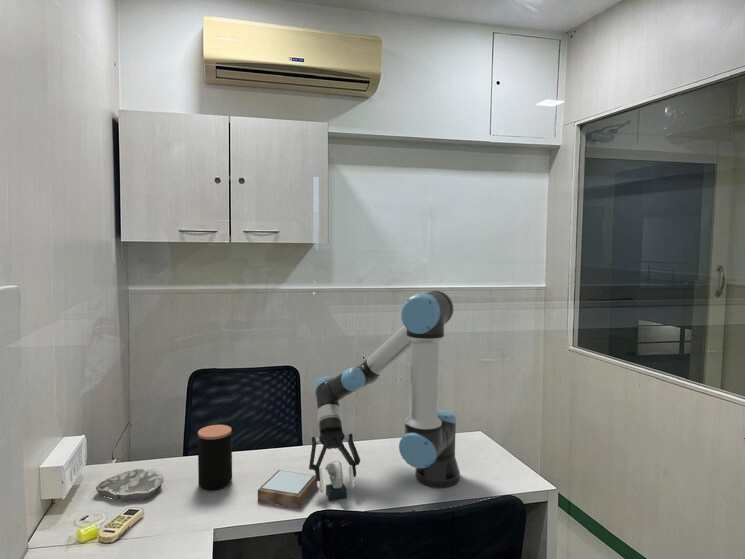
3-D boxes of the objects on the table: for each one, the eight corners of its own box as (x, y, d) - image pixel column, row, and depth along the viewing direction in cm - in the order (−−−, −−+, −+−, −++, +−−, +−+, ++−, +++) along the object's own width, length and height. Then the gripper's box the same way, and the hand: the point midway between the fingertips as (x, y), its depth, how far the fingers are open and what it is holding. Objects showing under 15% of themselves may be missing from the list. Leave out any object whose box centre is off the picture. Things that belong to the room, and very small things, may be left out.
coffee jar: (238, 483, 159) (238, 430, 158) (208, 495, 152) (207, 439, 150) (221, 472, 167) (221, 422, 165) (192, 483, 159) (191, 430, 158)
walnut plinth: (317, 486, 158) (317, 474, 157) (299, 508, 144) (299, 495, 144) (278, 480, 162) (278, 468, 161) (257, 501, 148) (257, 488, 148)
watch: (340, 488, 156) (340, 455, 156) (348, 500, 149) (348, 466, 148) (324, 491, 155) (324, 458, 154) (330, 504, 147) (330, 469, 146)
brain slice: (175, 478, 163) (175, 470, 162) (148, 505, 146) (148, 496, 146) (119, 476, 164) (119, 467, 164) (86, 502, 147) (86, 493, 147)
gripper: (359, 423, 168) (369, 489, 154) (296, 428, 163) (301, 497, 148) (362, 413, 163) (374, 481, 148) (298, 418, 157) (303, 489, 143)
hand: (337, 489), depth 148 cm, fingers open, 9 cm apart
